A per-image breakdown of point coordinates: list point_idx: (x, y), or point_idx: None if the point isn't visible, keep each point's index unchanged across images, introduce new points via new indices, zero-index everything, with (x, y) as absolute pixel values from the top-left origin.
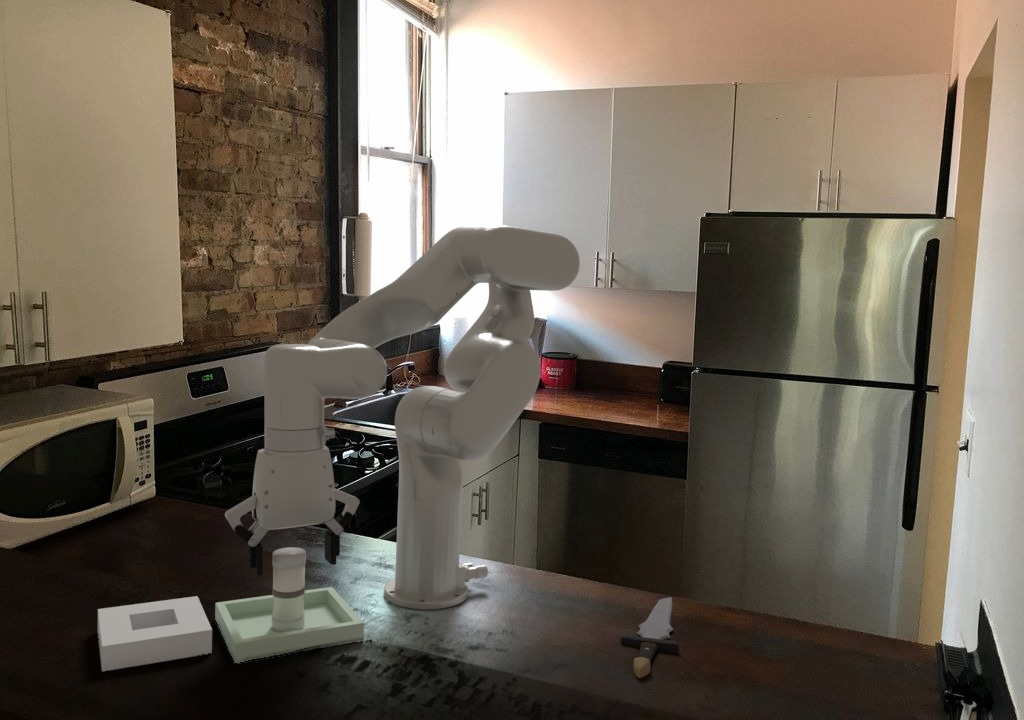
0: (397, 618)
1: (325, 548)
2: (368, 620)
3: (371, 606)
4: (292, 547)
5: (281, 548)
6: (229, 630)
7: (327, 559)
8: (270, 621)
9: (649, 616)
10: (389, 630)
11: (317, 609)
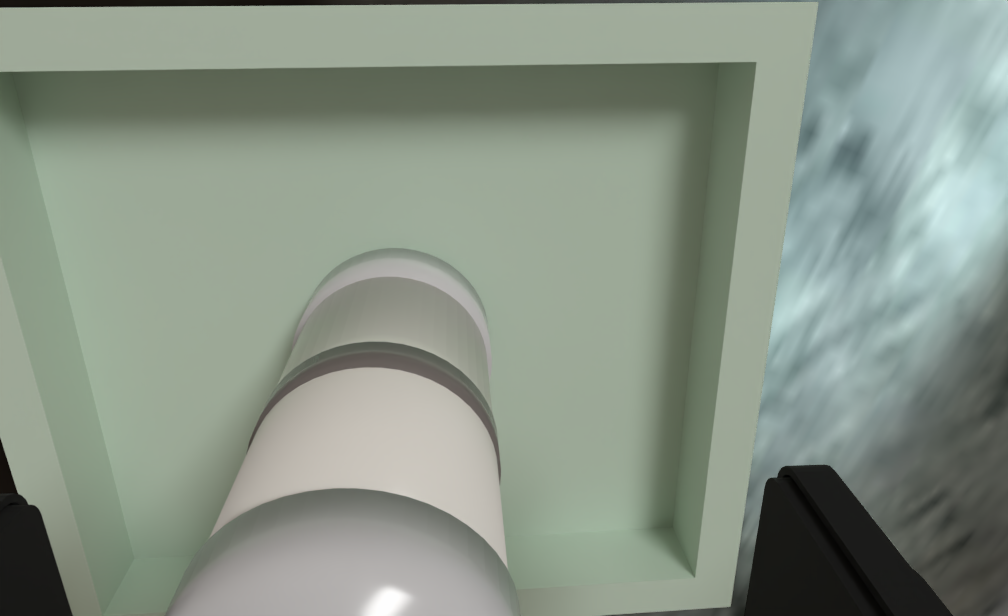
0: (972, 356)
1: (815, 574)
2: (833, 331)
3: (952, 145)
4: (405, 603)
5: (252, 603)
6: None
7: (761, 561)
8: (309, 231)
9: None
10: (858, 469)
11: (625, 147)
